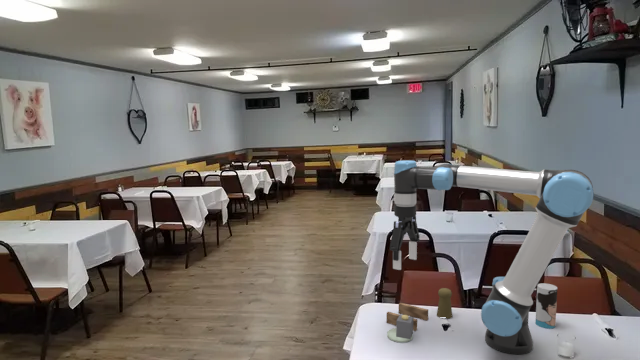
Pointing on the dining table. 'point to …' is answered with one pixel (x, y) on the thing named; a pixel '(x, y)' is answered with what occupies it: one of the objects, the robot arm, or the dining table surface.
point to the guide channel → (409, 311)
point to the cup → (546, 305)
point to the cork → (444, 303)
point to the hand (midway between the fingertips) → (405, 263)
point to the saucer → (392, 336)
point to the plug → (404, 326)
